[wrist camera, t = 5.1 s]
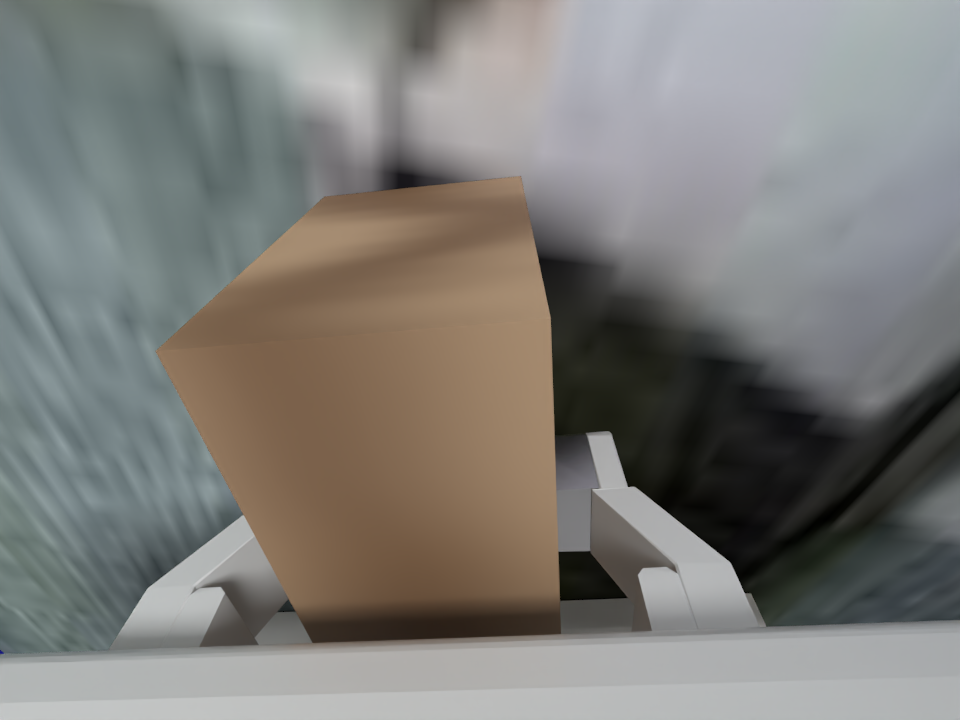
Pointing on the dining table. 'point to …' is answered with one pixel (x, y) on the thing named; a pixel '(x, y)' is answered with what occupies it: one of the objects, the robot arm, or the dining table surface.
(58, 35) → the dining table surface
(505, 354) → the strut
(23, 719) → the robot arm
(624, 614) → the bin
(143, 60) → the dining table surface
